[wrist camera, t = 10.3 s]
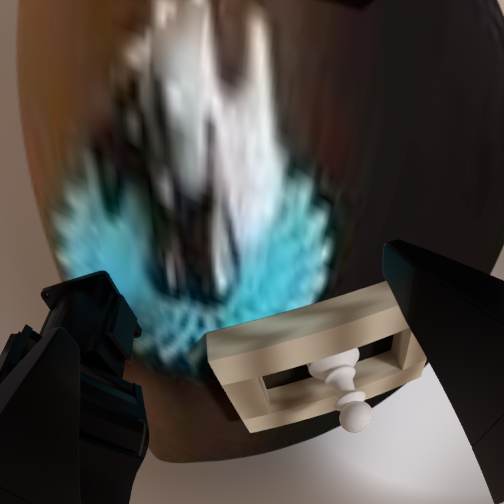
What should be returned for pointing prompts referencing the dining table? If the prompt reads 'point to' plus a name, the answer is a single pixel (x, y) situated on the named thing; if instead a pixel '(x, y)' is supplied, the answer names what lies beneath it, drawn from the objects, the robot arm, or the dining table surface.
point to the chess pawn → (344, 389)
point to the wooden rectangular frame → (312, 355)
